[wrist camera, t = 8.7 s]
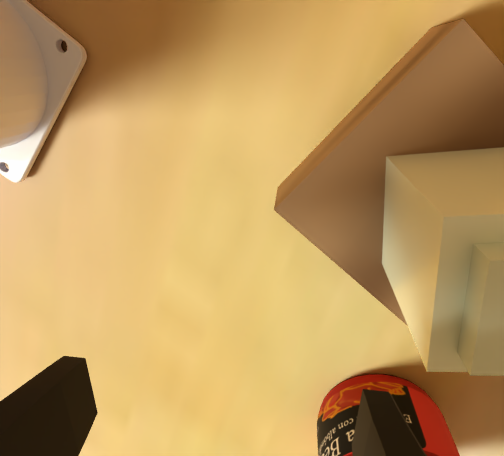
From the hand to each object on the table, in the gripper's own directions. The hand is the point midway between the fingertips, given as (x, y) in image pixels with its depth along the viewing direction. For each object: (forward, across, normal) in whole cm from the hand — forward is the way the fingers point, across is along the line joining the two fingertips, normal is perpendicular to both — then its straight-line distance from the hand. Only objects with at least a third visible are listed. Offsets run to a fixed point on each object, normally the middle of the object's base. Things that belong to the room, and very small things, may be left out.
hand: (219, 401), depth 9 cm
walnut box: (+11, -7, -3) cm, 13 cm away
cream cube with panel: (+7, -8, -3) cm, 11 cm away
